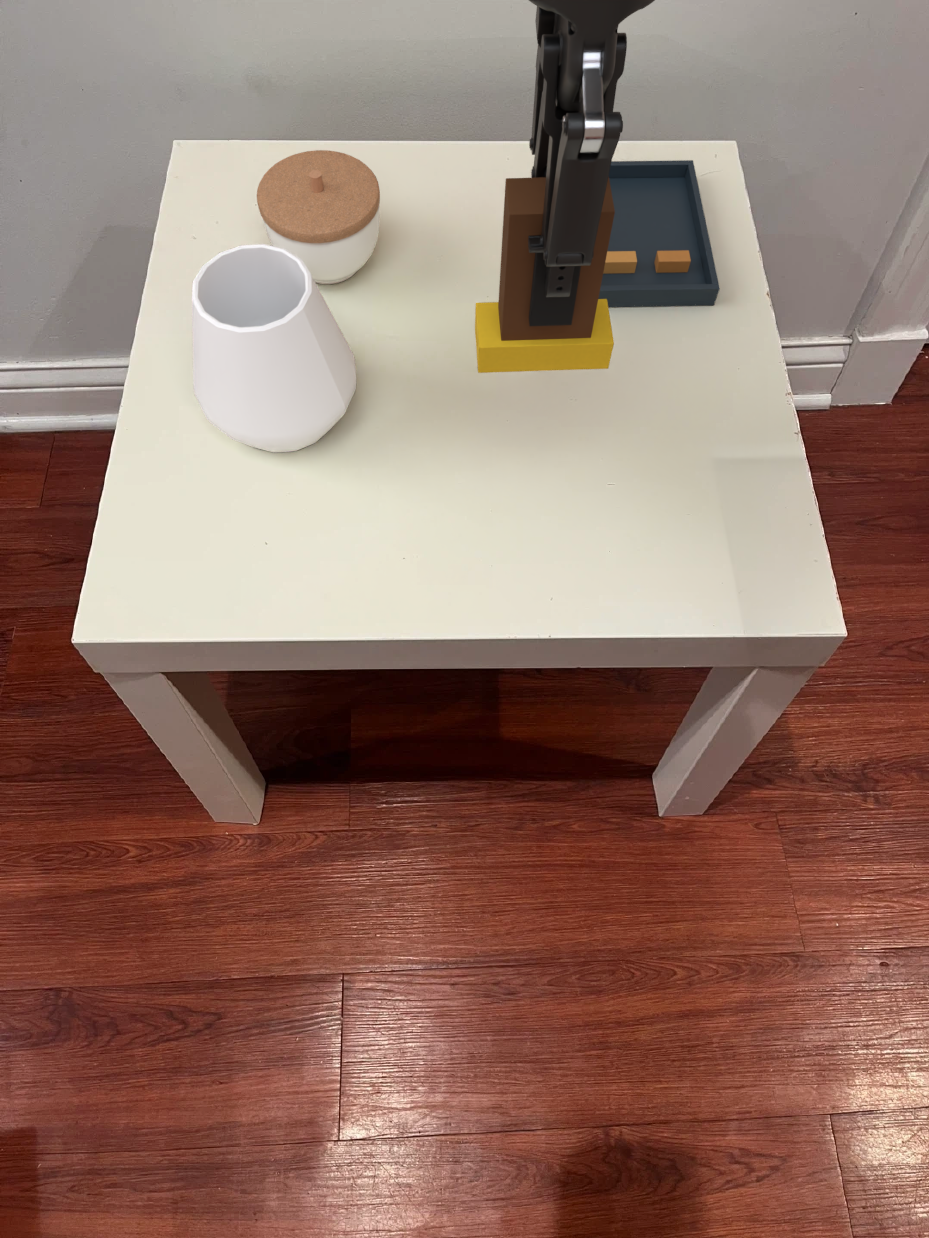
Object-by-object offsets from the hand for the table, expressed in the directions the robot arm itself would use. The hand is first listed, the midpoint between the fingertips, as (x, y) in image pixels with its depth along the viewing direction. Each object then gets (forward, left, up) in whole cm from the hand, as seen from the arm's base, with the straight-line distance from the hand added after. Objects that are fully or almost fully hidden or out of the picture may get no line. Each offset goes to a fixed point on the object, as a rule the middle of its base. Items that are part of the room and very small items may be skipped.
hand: (547, 299), depth 59 cm
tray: (+6, -28, -19) cm, 34 cm away
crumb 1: (+5, -23, -18) cm, 30 cm away
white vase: (+20, +7, -19) cm, 29 cm away
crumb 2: (+1, -26, -18) cm, 32 cm away
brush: (0, 0, -5) cm, 5 cm away
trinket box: (+28, -9, -19) cm, 35 cm away
